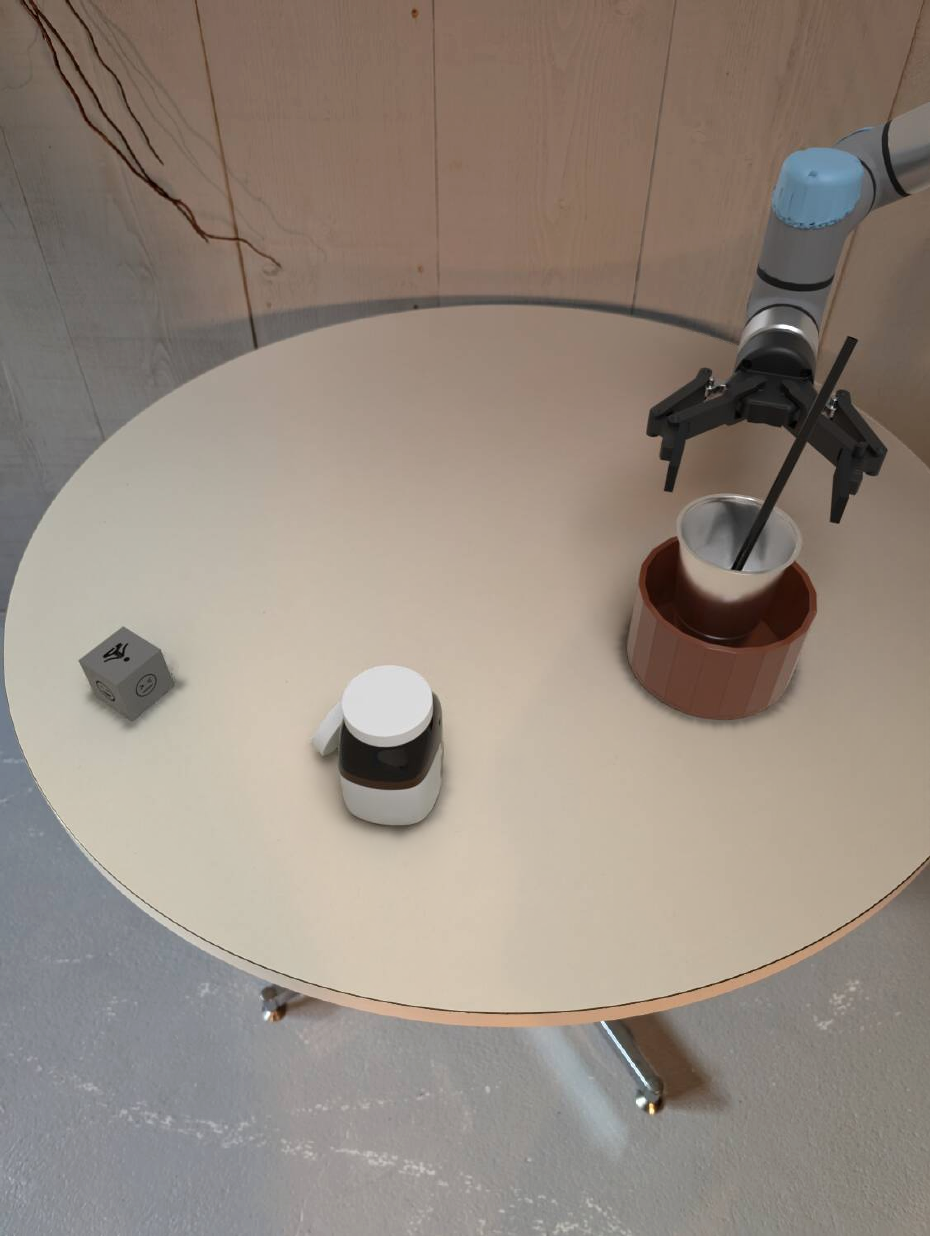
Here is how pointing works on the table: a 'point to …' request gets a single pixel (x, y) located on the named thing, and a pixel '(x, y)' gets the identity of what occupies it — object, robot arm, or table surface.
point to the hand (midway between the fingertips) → (753, 494)
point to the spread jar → (386, 745)
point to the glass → (740, 547)
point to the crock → (714, 672)
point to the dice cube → (127, 673)
